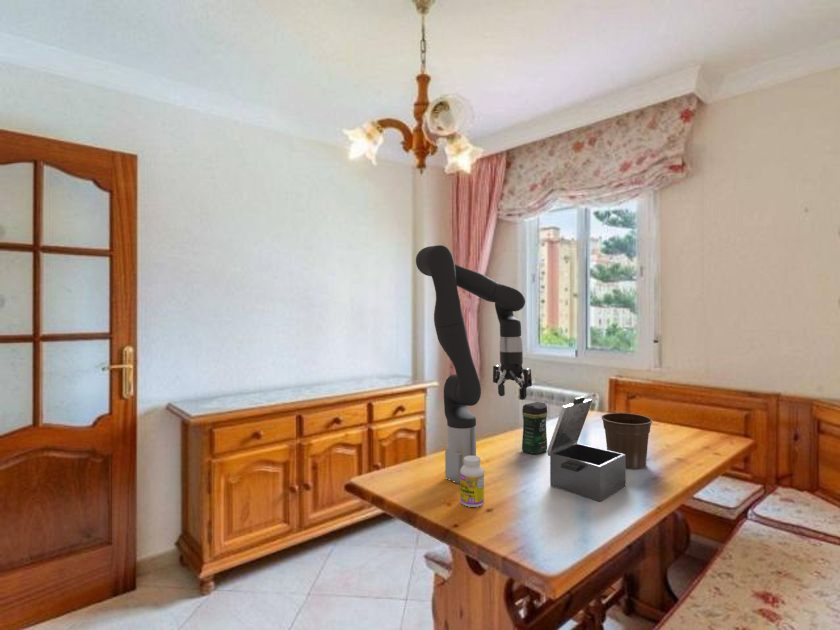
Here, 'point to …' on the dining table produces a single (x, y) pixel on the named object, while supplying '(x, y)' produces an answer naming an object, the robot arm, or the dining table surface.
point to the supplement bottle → (472, 482)
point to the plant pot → (628, 436)
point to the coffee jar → (534, 428)
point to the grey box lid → (569, 424)
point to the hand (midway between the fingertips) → (512, 397)
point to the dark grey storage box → (588, 471)
